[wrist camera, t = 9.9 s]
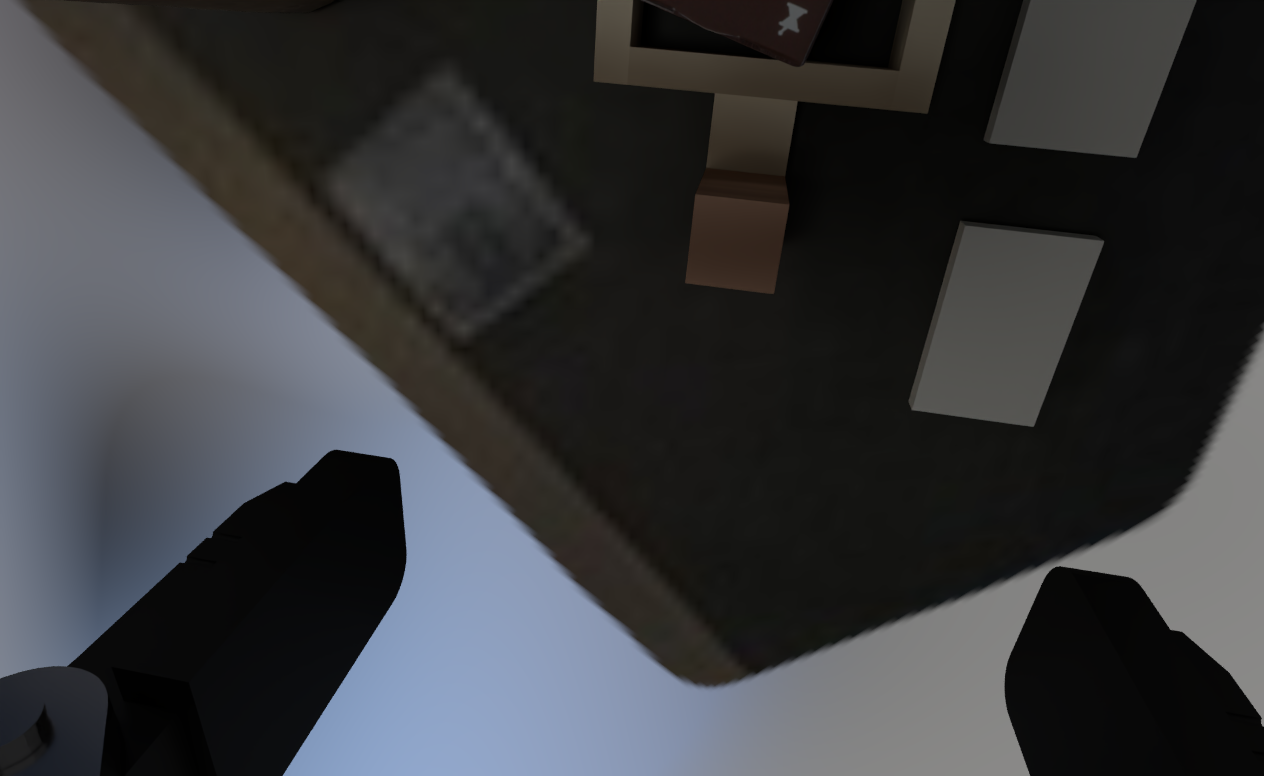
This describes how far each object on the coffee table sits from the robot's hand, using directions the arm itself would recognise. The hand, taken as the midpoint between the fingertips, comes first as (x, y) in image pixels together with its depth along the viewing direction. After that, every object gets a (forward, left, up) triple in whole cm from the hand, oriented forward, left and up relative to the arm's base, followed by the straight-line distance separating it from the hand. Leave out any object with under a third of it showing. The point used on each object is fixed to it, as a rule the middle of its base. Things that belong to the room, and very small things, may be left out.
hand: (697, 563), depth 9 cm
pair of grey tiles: (-1, +11, -23) cm, 25 cm away
